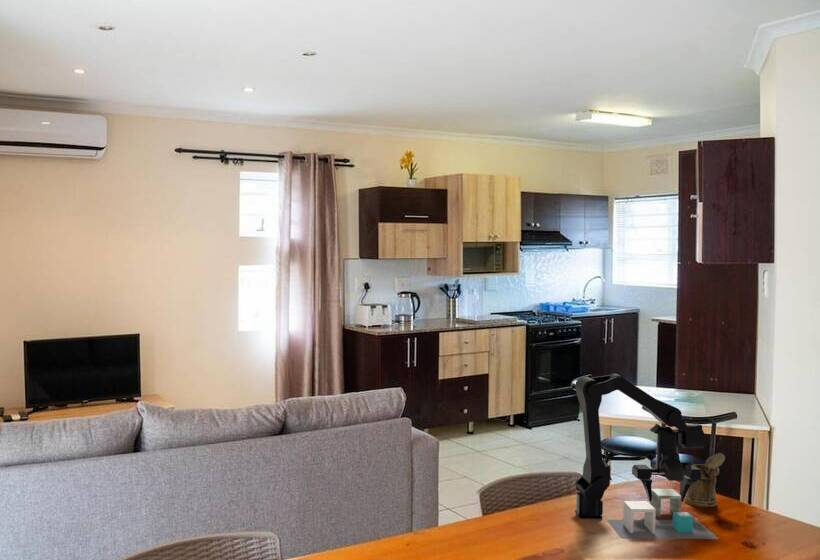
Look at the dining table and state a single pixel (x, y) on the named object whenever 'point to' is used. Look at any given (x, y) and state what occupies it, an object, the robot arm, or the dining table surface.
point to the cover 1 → (639, 507)
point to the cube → (682, 521)
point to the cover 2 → (666, 494)
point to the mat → (661, 530)
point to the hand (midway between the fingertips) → (665, 501)
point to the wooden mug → (705, 483)
